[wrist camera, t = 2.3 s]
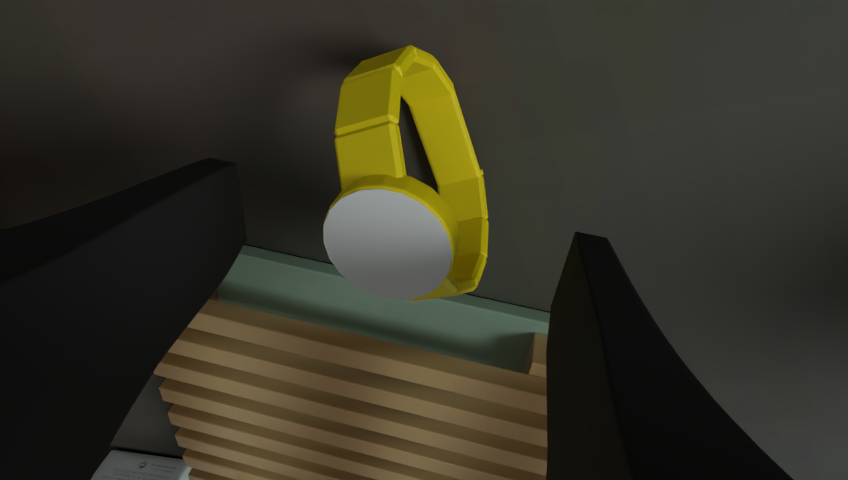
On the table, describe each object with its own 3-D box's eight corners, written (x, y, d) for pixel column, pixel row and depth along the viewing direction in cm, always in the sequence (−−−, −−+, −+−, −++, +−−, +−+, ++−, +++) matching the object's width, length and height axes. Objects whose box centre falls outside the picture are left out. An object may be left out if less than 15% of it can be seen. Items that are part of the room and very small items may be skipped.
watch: (520, 207, 17) (497, 353, 12) (436, 223, 18) (385, 363, 13) (457, 10, 14) (394, 101, 9) (361, 43, 15) (260, 140, 10)
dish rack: (611, 325, 19) (626, 531, 13) (523, 529, 28) (509, 700, 22) (156, 224, 21) (4, 365, 15) (214, 445, 30) (132, 582, 24)
